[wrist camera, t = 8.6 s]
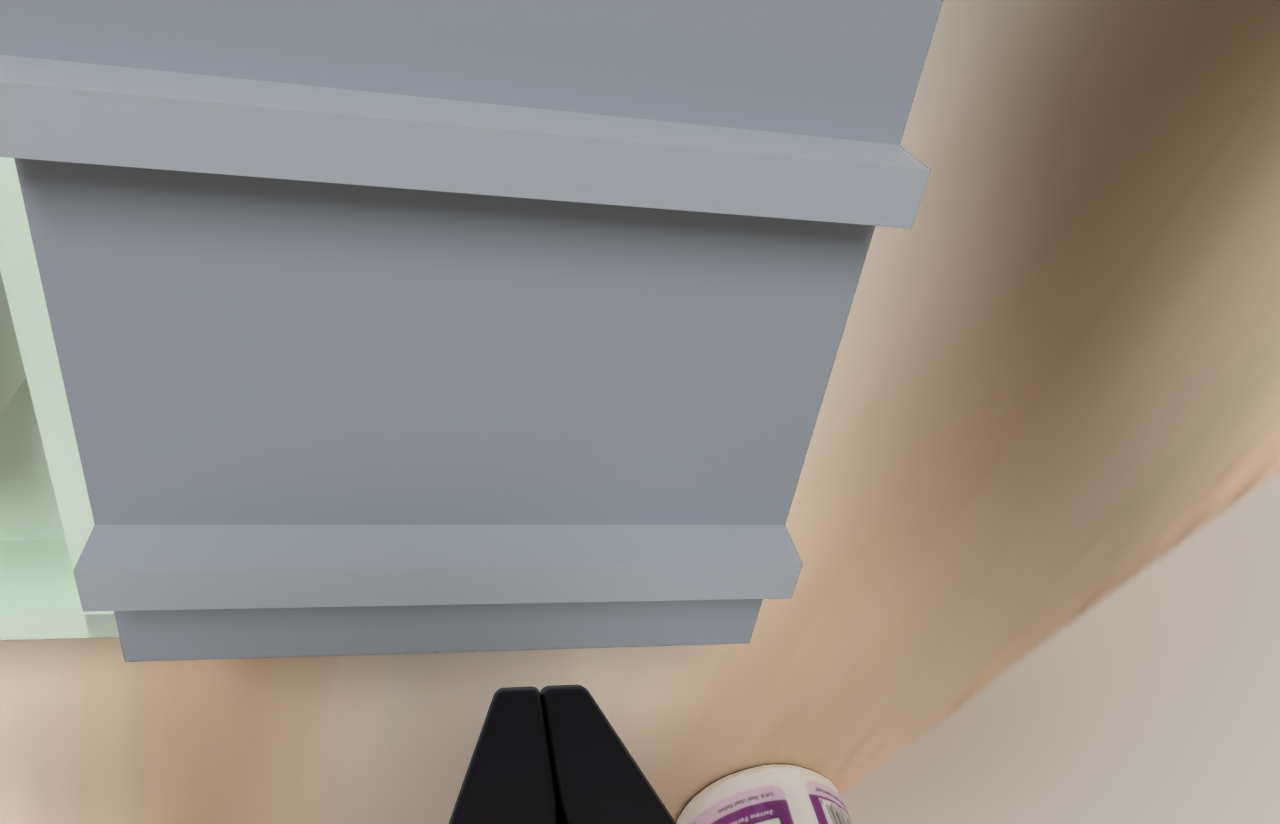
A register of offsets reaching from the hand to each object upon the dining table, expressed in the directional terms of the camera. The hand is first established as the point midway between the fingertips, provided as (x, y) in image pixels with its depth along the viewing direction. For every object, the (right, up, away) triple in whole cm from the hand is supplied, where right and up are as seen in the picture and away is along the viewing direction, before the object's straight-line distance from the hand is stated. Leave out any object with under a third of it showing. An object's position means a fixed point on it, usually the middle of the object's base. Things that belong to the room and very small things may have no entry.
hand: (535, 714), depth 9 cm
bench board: (-2, +6, +8) cm, 10 cm away
